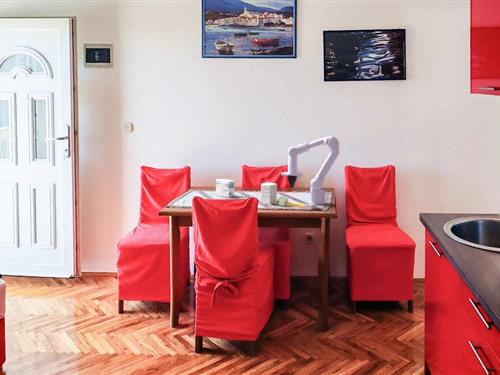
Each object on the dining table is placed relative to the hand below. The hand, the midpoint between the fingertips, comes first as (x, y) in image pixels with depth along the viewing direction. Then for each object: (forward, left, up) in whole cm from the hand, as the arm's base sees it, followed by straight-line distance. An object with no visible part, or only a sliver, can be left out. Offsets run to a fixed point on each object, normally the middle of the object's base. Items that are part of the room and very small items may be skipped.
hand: (291, 187), depth 398 cm
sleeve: (+8, +4, -10) cm, 13 cm away
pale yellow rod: (+4, +9, -10) cm, 14 cm away
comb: (-3, +18, -10) cm, 20 cm away
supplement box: (+14, -4, -10) cm, 18 cm away
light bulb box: (+31, -36, -10) cm, 49 cm away
